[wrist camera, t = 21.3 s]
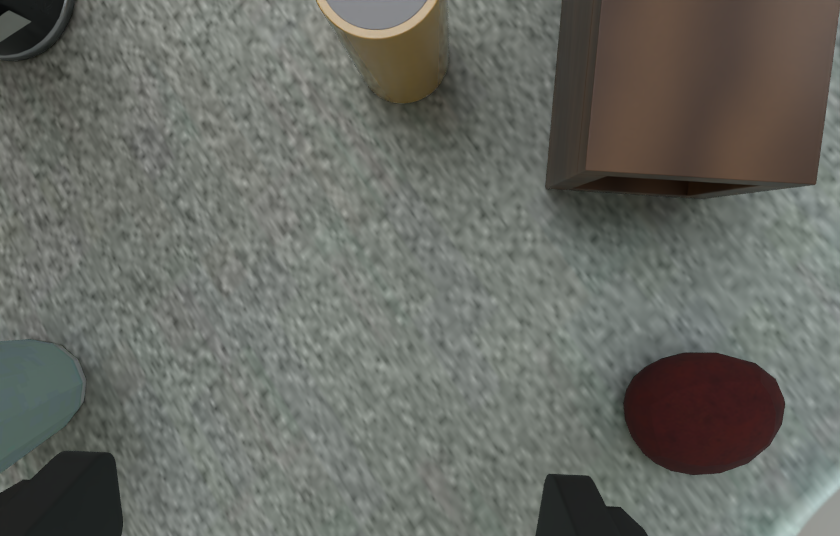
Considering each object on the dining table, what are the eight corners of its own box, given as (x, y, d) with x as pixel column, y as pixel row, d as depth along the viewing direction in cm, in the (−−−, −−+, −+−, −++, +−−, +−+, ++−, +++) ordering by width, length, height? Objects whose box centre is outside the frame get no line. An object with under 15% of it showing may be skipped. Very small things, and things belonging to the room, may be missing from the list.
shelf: (545, 188, 32) (584, 170, 22) (565, -35, 31) (616, -159, 21) (702, 199, 32) (816, 184, 22) (729, -29, 30) (862, -155, 21)
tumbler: (355, 100, 33) (304, 35, 22) (361, 7, 32) (312, -109, 21) (445, 106, 32) (440, 42, 21) (452, 11, 32) (451, -104, 21)
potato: (612, 339, 33) (647, 364, 27) (753, 342, 32) (821, 367, 26) (608, 449, 33) (642, 497, 27) (747, 453, 33) (812, 503, 27)
